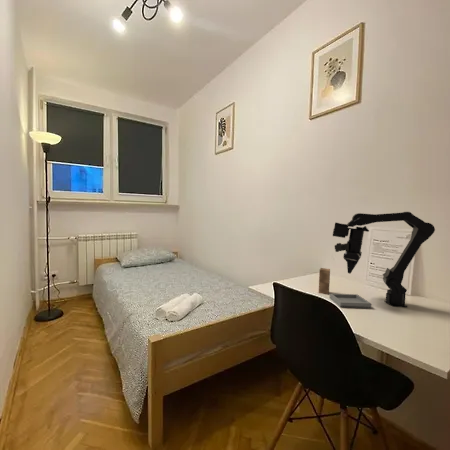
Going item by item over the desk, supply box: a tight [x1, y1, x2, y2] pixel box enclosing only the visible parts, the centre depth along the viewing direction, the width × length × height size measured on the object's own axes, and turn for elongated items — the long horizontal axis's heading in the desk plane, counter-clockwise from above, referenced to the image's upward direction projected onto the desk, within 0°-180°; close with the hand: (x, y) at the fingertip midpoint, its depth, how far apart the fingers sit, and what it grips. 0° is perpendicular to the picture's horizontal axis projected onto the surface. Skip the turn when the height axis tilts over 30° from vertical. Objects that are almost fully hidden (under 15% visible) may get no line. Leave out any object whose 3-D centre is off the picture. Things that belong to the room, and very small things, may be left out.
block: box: [318, 267, 331, 295], centre depth 128 cm, size 4×4×12 cm
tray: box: [329, 293, 372, 309], centre depth 113 cm, size 13×12×2 cm
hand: (350, 271), depth 120 cm, fingers open, 9 cm apart
